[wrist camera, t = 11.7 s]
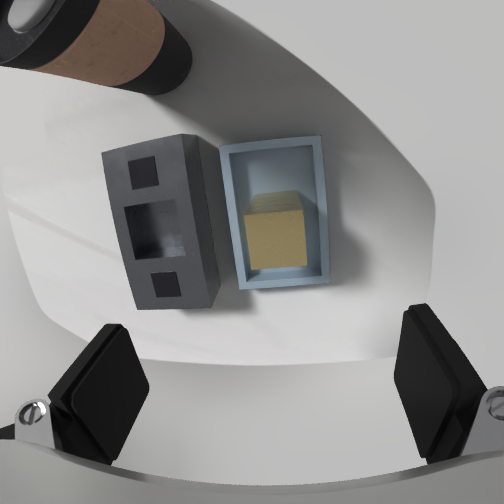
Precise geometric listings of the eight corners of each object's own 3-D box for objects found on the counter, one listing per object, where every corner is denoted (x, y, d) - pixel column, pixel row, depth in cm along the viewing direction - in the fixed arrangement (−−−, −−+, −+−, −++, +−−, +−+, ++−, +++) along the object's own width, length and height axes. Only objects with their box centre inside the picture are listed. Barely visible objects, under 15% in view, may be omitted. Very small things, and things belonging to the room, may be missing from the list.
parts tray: (223, 145, 29) (218, 145, 26) (317, 135, 28) (320, 135, 25) (242, 279, 33) (239, 289, 31) (327, 272, 32) (330, 282, 30)
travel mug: (114, 76, 27) (-34, 44, 8) (157, 20, 24) (39, -65, 6) (163, 111, 28) (14, 90, 9) (210, 52, 25) (112, -51, 7)
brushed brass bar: (255, 194, 29) (244, 215, 21) (296, 190, 29) (303, 209, 20) (259, 234, 31) (251, 270, 22) (300, 230, 30) (307, 265, 22)
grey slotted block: (125, 150, 30) (100, 152, 25) (196, 134, 28) (180, 133, 24) (154, 288, 35) (136, 310, 30) (220, 284, 34) (210, 308, 29)
